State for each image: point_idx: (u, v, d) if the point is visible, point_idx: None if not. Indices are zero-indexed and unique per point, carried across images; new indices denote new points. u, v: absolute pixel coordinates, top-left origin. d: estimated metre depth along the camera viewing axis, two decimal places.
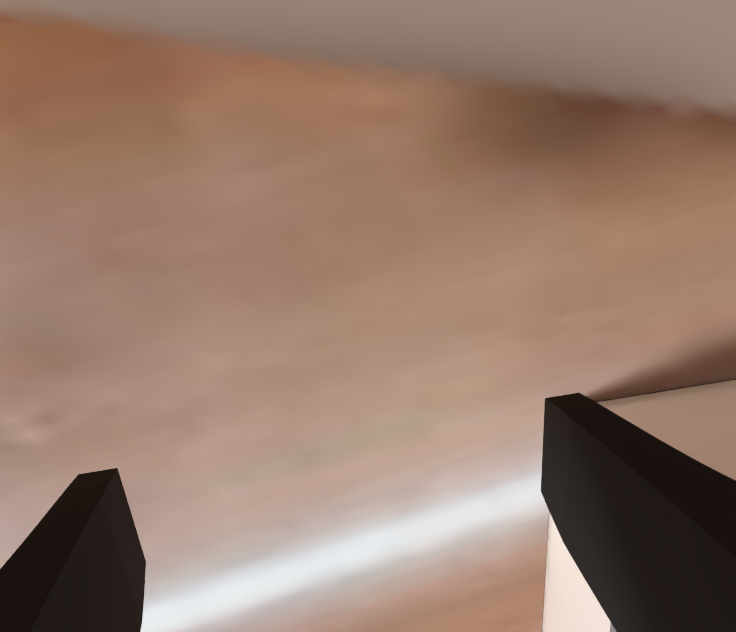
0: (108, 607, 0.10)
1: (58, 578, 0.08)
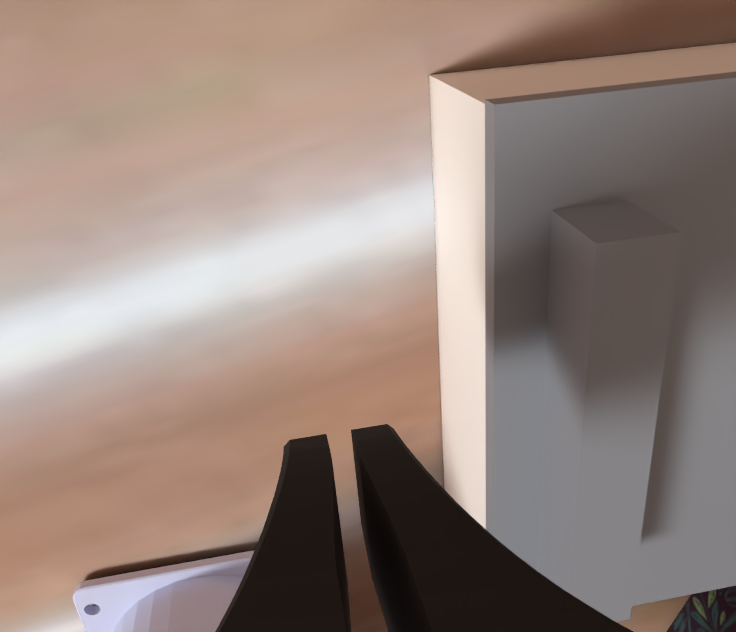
0: (342, 564, 0.10)
1: (331, 529, 0.09)
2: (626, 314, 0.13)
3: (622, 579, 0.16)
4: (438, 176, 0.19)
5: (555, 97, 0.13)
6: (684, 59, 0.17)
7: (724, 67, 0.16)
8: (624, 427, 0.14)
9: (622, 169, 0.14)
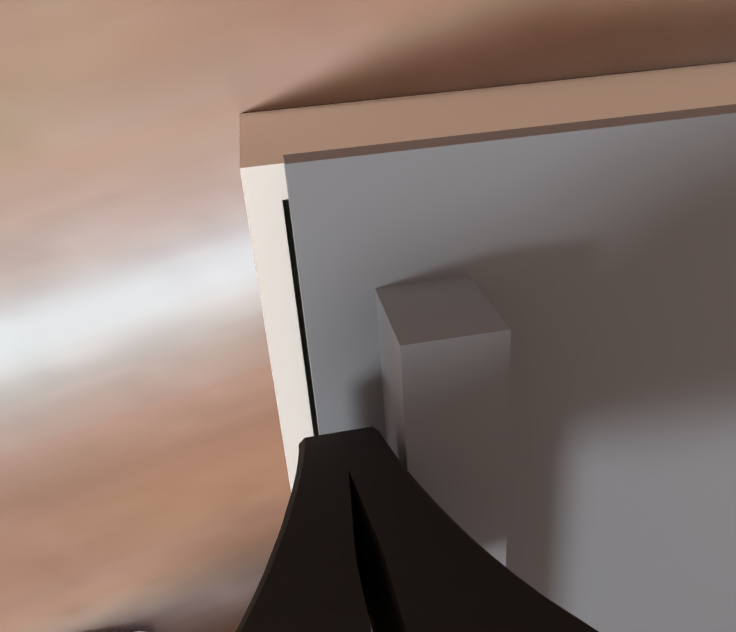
0: (358, 561, 0.10)
1: (350, 526, 0.09)
2: (452, 427, 0.10)
3: None
4: None
5: (363, 154, 0.10)
6: (529, 99, 0.14)
7: (560, 113, 0.13)
8: None
9: (460, 239, 0.11)
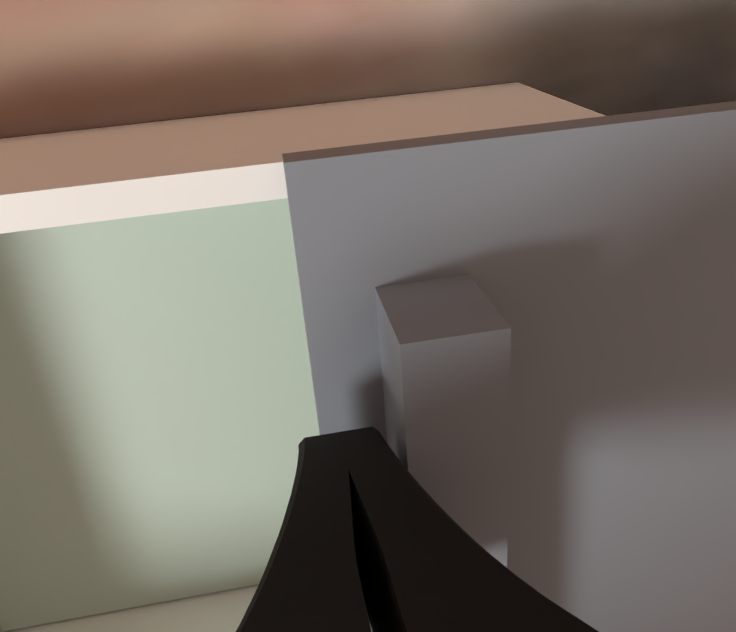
0: (358, 561, 0.10)
1: (350, 526, 0.09)
2: (452, 426, 0.10)
3: None
4: None
5: (363, 152, 0.10)
6: (57, 149, 0.13)
7: (30, 171, 0.12)
8: None
9: (460, 237, 0.11)
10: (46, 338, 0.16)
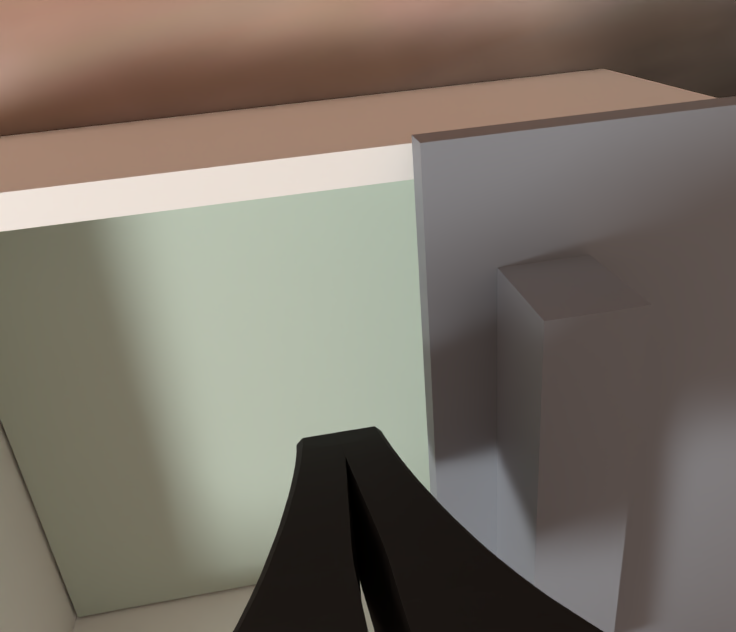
0: None
1: (347, 526, 0.09)
2: (585, 402, 0.10)
3: None
4: None
5: (496, 133, 0.10)
6: (164, 134, 0.14)
7: (151, 154, 0.12)
8: (587, 531, 0.12)
9: (583, 218, 0.11)
10: (136, 324, 0.16)
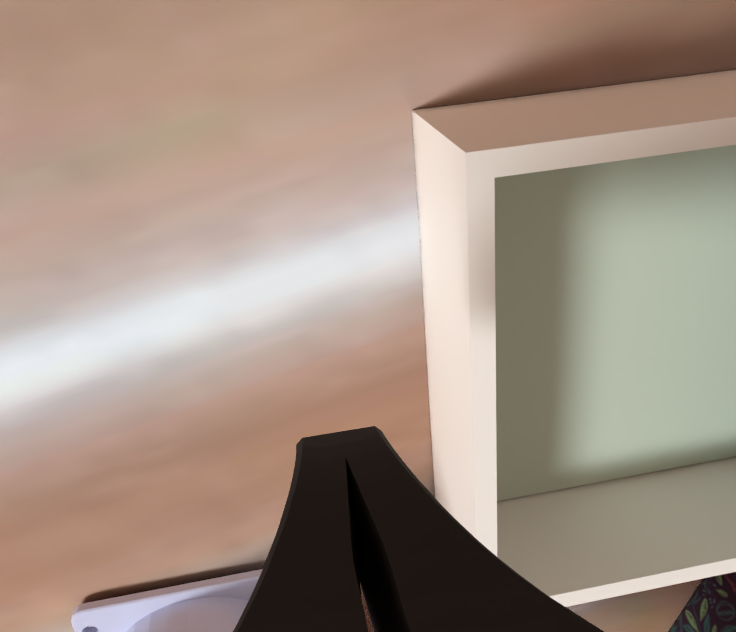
0: None
1: (347, 526, 0.09)
2: None
3: None
4: (422, 208, 0.19)
5: None
6: (662, 94, 0.17)
7: (699, 105, 0.16)
8: None
9: None
10: (574, 252, 0.20)
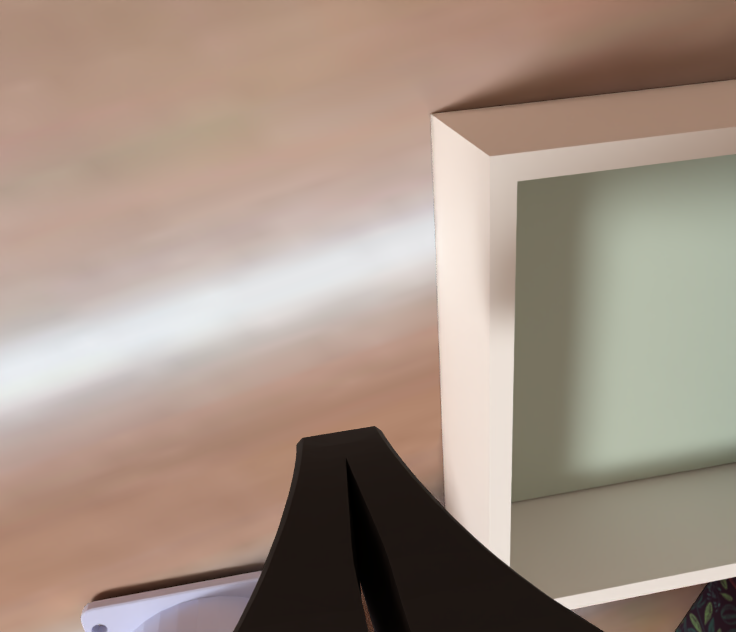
0: (356, 561, 0.10)
1: (348, 526, 0.09)
2: None
3: None
4: (439, 211, 0.19)
5: None
6: (679, 100, 0.18)
7: (717, 112, 0.16)
8: None
9: None
10: (588, 256, 0.20)
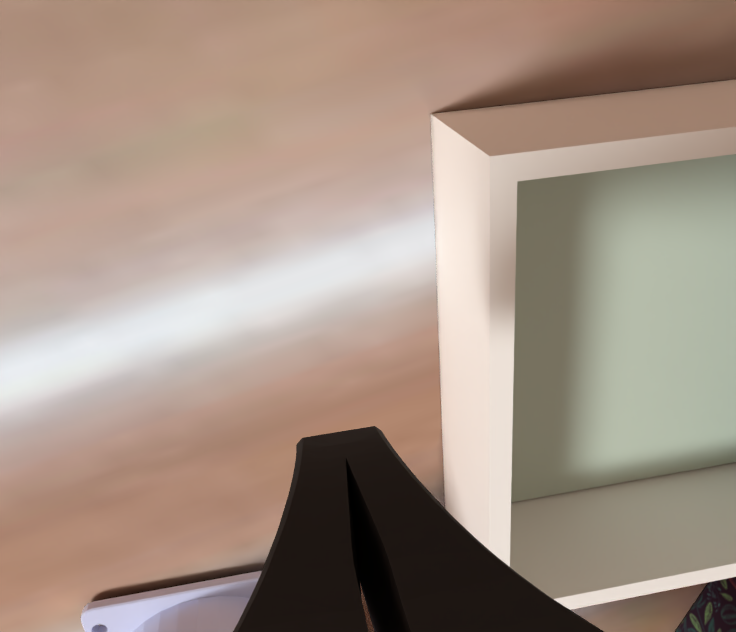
0: (356, 561, 0.10)
1: (348, 526, 0.09)
2: None
3: None
4: (439, 211, 0.19)
5: None
6: (679, 100, 0.18)
7: (717, 112, 0.16)
8: None
9: None
10: (588, 256, 0.20)
